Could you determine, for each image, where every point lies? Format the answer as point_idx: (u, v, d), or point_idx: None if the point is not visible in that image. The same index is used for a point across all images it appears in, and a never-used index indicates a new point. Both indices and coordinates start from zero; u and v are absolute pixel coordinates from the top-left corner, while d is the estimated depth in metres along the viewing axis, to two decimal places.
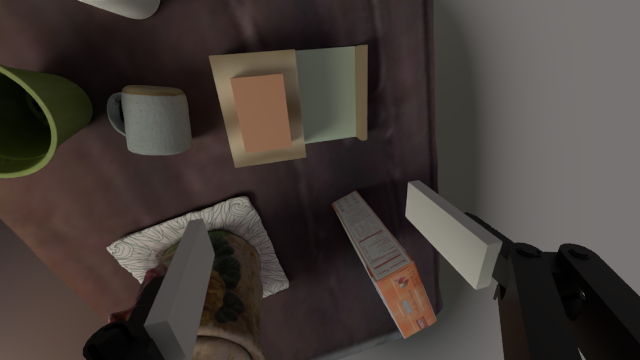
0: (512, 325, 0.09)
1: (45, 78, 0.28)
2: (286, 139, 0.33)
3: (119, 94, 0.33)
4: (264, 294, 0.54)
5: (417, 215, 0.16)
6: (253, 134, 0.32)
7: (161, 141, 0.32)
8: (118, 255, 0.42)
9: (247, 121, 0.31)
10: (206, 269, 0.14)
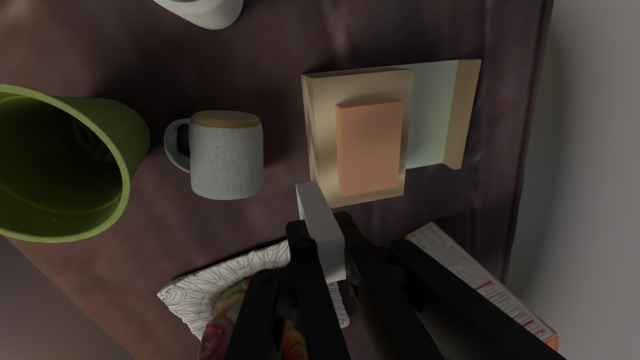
0: (375, 326, 0.09)
1: (106, 108, 0.22)
2: (392, 178, 0.27)
3: (181, 122, 0.26)
4: None
5: None
6: (356, 174, 0.26)
7: (238, 183, 0.25)
8: (169, 301, 0.36)
9: (352, 159, 0.25)
10: None
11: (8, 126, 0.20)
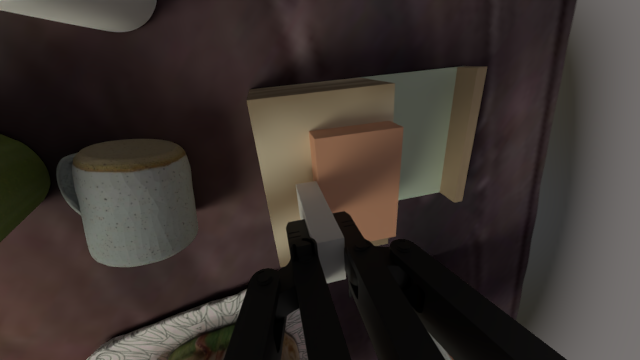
0: (374, 326, 0.09)
1: None
2: (389, 226, 0.20)
3: None
4: None
5: None
6: None
7: (145, 244, 0.18)
8: None
9: (333, 205, 0.18)
10: None
11: None
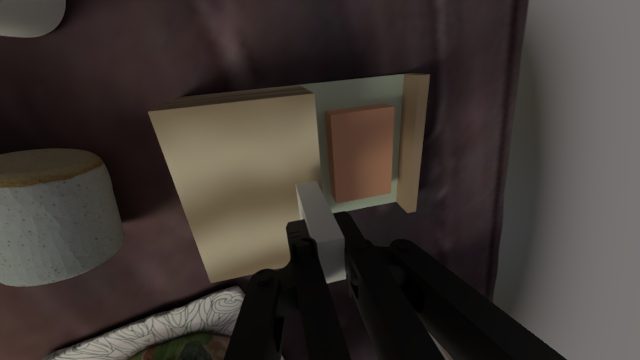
0: (375, 326, 0.09)
1: None
2: None
3: None
4: None
5: None
6: None
7: (45, 262, 0.17)
8: None
9: None
10: None
11: None
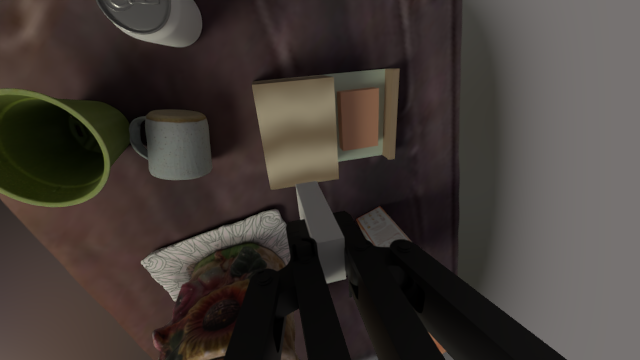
0: (375, 326, 0.09)
1: (94, 108, 0.29)
2: None
3: (141, 118, 0.33)
4: None
5: None
6: None
7: (184, 166, 0.32)
8: (151, 269, 0.43)
9: None
10: None
11: (20, 121, 0.27)
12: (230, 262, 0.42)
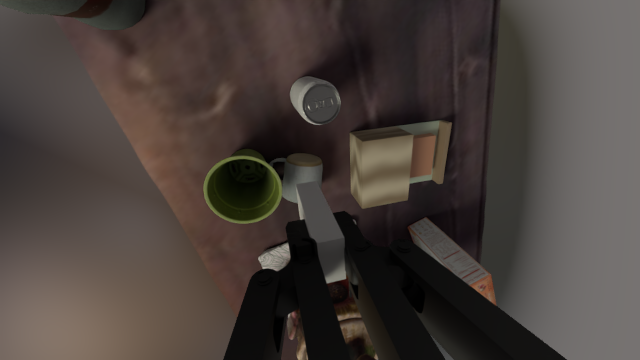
0: (375, 326, 0.09)
1: (260, 158, 0.44)
2: None
3: (278, 160, 0.48)
4: None
5: None
6: None
7: None
8: (264, 263, 0.58)
9: None
10: None
11: (221, 168, 0.42)
12: None
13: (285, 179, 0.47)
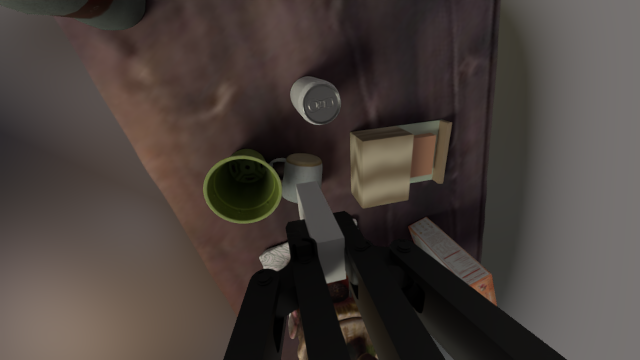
0: (375, 326, 0.09)
1: (260, 157, 0.44)
2: None
3: (278, 161, 0.48)
4: None
5: None
6: None
7: None
8: (264, 262, 0.58)
9: None
10: None
11: (221, 168, 0.42)
12: None
13: (285, 179, 0.47)
